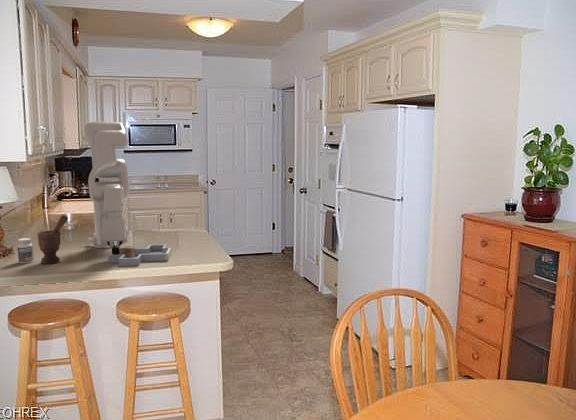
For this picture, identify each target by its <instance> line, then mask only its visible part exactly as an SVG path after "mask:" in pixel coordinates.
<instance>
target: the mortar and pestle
mask: <svg viewBox="0 0 576 420" xmlns="http://www.w3.org/2000/svg"><path fill="white" fill-rule="evenodd" d="M68 219H69V217H68V216H67V215H64V214H63V215H61V216H60V218H59V219H58V221H57V223H56V226H55V227H54V228H53V229H52V230H51V229H50V230H42V231H38V232H37V241H38V243H37V244H38V247H39V249H40V251H41V252H42V253H43V257H42V258H41V260H40V264H42V265H43V264H44V265H50V264H56V263H59V262H61V260H60V257H59V256H58V255H57V252H58V251H59V249H60V245H61V231H60V230H61V229H62V228H63V226H64V225H65V224H66V223H67V221H68Z"/></svg>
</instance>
